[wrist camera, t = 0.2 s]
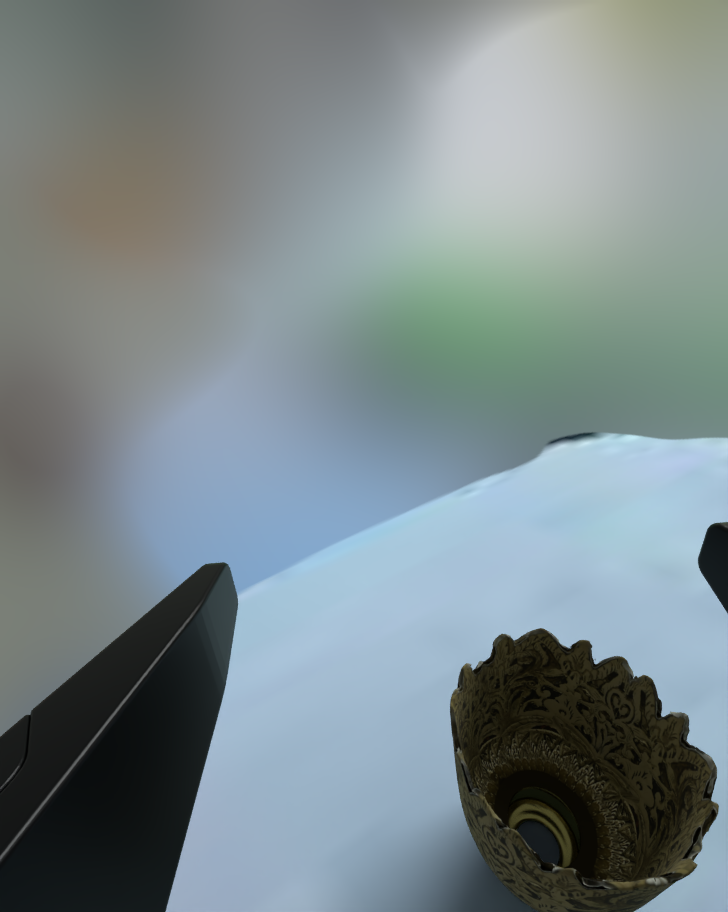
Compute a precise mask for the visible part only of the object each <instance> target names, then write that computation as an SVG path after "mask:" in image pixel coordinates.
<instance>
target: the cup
mask: <svg viewBox="0 0 728 912" xmlns="http://www.w3.org/2000/svg"><path fill="white" fill-rule="evenodd" d="M571 647H572V648H571ZM571 647H570V648H571V649H570V648H567V647H566V646H563V645H561V644H560V643H559V640H558V639H557V638H556V637H555V636H554V635H553V634H552V633H550V632H549V631H547V630H545V629H542V628H540V629H536V630H533V631H530V632H528V633H526V634H525V635H523V636H521V637H520V638H519V639H517V640H515V641H514V640H513V639H512V638H511V637H510V636H509V635H506V634H501V635H499V636H498V637H497V638H496V639H495V640H494V642H493V649H492V653H491V656H490V658H488V659H487V660H486V661H484V662H482V661H480V662H479V663H478V665H477V667H476V668H475V669H474V670H472V668H471V667H470V666H471V664H468V663H467V664H465V665H464V666H463V667H462V669H461V672H460V675H459V680H458V688H457V689H455V690H454V692H453V694H452V697H451V702H450V716H451V727H452V736H453V744H454V754H455V764H456V773H457V781H458V787H459V793H460V799H461V803H462V807H463V811H464V814H465V818H466V821H467V824H468V827H469V830H470V832H471V834H472V837H473V839H474V841H475V843H476V845H477V847H478V849H479V851H480V853H481V855H482V856H483V858H484V860H485V861H486V863H487V864H488V866H489V867H490V869H491V870H492V871H493V873H494V874H495V875H496V876H497V877H498V879H499V880H500V881H501V882H502V883H503V884H504V885H505V886H506V887H507V888H508V889H509V890H510V891H511V892H512V893H513V894H514V895H515V896H517V897H518V898H519V899H520V900H521V901H523V902H524V903H526V904H527V905H528V906H530V907H531V908H533V909H535V910H536V911H538V912H634V911H636V910H637V909H639V908H641V907H642V906H644V905H645V904H647V903H648V902H649V901H651V900H652V899H654V898H655V897H656V896H658V895H659V894H660V893H662V892H663V891H664V890H666V889H667V888H668V887H670V886H671V885H672V884H674V883H675V882H676V881H678V880H680V879H682V878H684V877H686V876H688V875H689V874H690V873H692V872H693V871H694V869H695V868H696V867H697V864H696V863H694V862H693V861H694V859H695V858H696V856H697V855H698V853H699V852H700V851H701V849H702V839H703V837H704V835H705V834H706V832H708V831H709V828H710V826H711V825H712V823H713V821H714V820H715V819H716V817H717V814H718V808H719V806H718V804H717V803H715V802H712V801H711V797H712V793H713V790H714V785H715V781H716V779H717V768H716V765H715V763H714V761H713V760H712V758H711V757H710V756H709V755H707V754H705V753H704V752H703V751H701V750H699V749H698V748H697V747H694V746H692V745H689V743H688V742H687V735H688V733H689V718H688V715H686V714H685V713H681V712H680V713H676V712H670V714H668V715H666V716H665V717H662V716H661V711H662V703H661V700H660V699H659V698H658V695H657V691H656V687H655V684H654V682H653V680H652V679H651V678H650V677H648V676H645V675H642V676H641V677H639V678H637V676H635V677H634V675H633V671H632V670H631V668H630V666H629V664H628V662H627V660H626V659H625V658H623V657H620V656H614V657H610V658H607V659H604V660H602V661H601V662H599V663H598V664H594V660H593V658H592V650H591V648H592V645H591V644H590V641H587V640H579V641H578V642H577V643H575V644H573V645H572V646H571ZM633 677H634V679H633ZM695 749H696V750H695ZM525 821H537V822H539V823H541V824H543V825H544V826H546V827H547V828H548V829H549V830H550V831H551V832H552V834H553V835H554V837H555V838H556V840H557V843H558V846H559V851H560V858H559V862H558V864H557V865H554V864H552V863H548V862H546V863H545V862H543V861H542V859H541V858H540V856H539V855H538V854H537V853H536V852H535V851H534V850H533V849H531V848H530V847H529V846H528V845H527V843H526V842H525V840H524V839H523V838H522V836H521V835H520V834H519V833H518V832H517V829H518V827H519V826H520V825H521V824H522V823H523V822H525Z"/></svg>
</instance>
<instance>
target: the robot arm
mask: <svg viewBox="0 0 728 912" xmlns="http://www.w3.org/2000/svg"><path fill="white" fill-rule="evenodd" d="M698 565H699V568H700V571H701V573H702V574H703V576H704V577H705V579H706V581H707V582H708V584H709V585H710V587H711V588H712V590H713V591H714V593H715V594H716V596H717V598H718V599H719V601H720V602H721V604H722V605H723V607H724V608H725V610H726V611H727V613H728V522H723V523H715V524H712V525H711V526H710V527H709V528H708V529H707V532H706V535H705V538H704V541H703V544H702V548H701V551H700V554H699V557H698ZM237 609H238V598H237V593H236V589H235V585H234V581H233V578H232V574H231V570H230V567H229V566H228V564H226V563H211V564H205V565H204V566H202V567H201V568H200V569H198V570H197V571H196V572H195V573H194V574H192V575H191V576H190V577H189V578H188V579H187V580H185V581H184V582H183V583H182V584H181V585H179V586H178V587H177V588H176V589H175V590H174V591H172V592H171V593H170V594H169V595H168V596H166V597H165V598H164V599H163V600H162V601H161V602H159V603H158V604H157V605H156V606H155V607H153V608H152V609H151V610H150V611H149V612H148V613H146V614H145V615H144V616H143V617H142V618H140V619H139V620H138V621H137V622H136V623H135V624H133V626H131V627H130V628H129V629H127V630H126V631H125V632H124V633H123V634H121V635H120V636H119V637H118V638H117V639H116V640H114V641H113V642H112V643H111V644H110V645H108V646H107V647H106V648H105V649H104V650H103V651H101V652H100V653H99V654H98V655H97V656H95V657H94V658H93V659H92V660H91V661H90V662H88V663H87V664H86V665H85V666H84V667H82V668H81V669H80V670H79V671H78V672H76V674H74V675H73V676H72V677H71V678H69V679H68V680H67V681H66V682H65V683H63V684H62V685H61V686H60V687H59V688H58V689H56V690H55V691H54V692H53V693H52V694H51V695H49V696H48V697H47V698H46V699H45V700H43V701H42V702H41V703H40V704H39V705H38V706H36V707H35V708H34V709H33V710H32V711H31V715H26V716H24V717H23V718H22V719H21V720H19V721H18V722H17V723H16V724H15V725H14V726H12V727H11V728H10V729H9V730H8V731H6V732H5V733H4V734H3V735H2V736H1V737H0V912H165V911H166V908H167V904H168V900H169V896H170V893H171V889H172V885H173V882H174V878H175V874H176V870H177V867H178V863H179V859H180V855H181V852H182V848H183V844H184V840H185V837H186V833H187V829H188V826H189V822H190V818H191V814H192V811H193V807H194V803H195V799H196V796H197V792H198V788H199V785H200V781H201V777H202V773H203V770H204V766H205V762H206V758H207V755H208V751H209V747H210V743H211V740H212V736H213V732H214V729H215V725H216V721H217V717H218V714H219V710H220V706H221V702H222V698H223V694H224V690H225V686H226V680H227V674H228V668H229V661H230V655H231V648H232V642H233V635H234V629H235V622H236V616H237Z"/></svg>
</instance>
